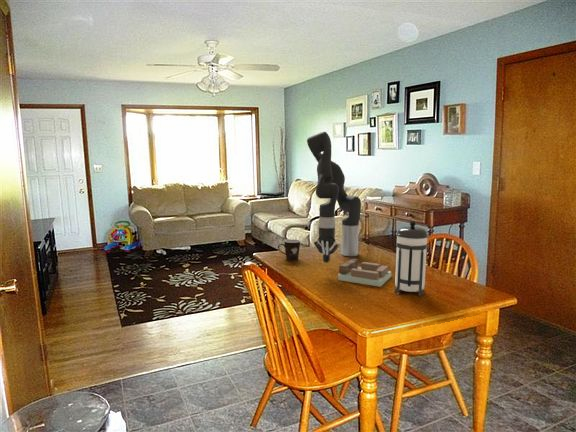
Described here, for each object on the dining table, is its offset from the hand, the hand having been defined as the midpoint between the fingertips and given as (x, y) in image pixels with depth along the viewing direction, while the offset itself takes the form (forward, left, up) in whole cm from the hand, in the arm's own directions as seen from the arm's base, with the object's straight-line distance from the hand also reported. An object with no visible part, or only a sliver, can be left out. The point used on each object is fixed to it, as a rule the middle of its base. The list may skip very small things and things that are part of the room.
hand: (326, 262), depth 205 cm
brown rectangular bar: (-5, +10, -3) cm, 11 cm away
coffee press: (+5, +41, -7) cm, 42 cm away
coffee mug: (-18, -29, -7) cm, 35 cm away
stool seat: (-4, +18, -6) cm, 19 cm away
